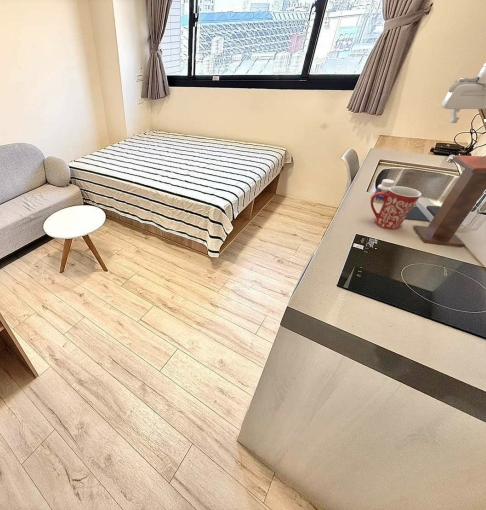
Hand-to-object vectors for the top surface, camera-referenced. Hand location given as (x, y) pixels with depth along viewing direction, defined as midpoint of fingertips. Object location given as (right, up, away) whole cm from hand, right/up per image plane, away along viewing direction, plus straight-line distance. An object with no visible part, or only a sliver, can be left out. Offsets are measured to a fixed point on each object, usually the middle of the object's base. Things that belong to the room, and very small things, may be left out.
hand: (469, 122), depth 98 cm
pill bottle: (-14, -24, +22) cm, 35 cm away
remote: (-4, -30, +11) cm, 32 cm away
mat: (-8, -31, +11) cm, 34 cm away
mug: (-26, -35, +7) cm, 44 cm away
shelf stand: (-14, -41, -2) cm, 44 cm away
